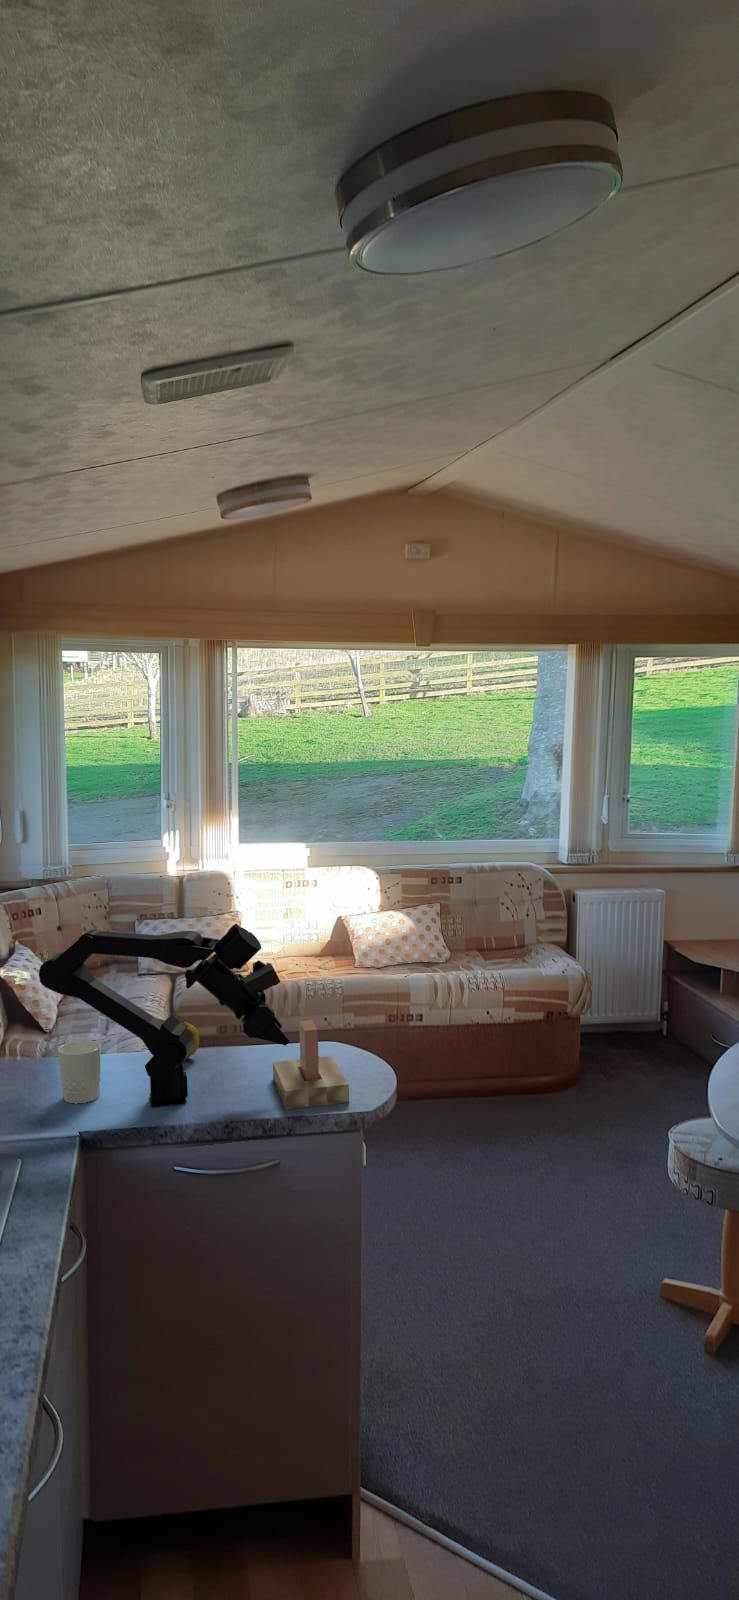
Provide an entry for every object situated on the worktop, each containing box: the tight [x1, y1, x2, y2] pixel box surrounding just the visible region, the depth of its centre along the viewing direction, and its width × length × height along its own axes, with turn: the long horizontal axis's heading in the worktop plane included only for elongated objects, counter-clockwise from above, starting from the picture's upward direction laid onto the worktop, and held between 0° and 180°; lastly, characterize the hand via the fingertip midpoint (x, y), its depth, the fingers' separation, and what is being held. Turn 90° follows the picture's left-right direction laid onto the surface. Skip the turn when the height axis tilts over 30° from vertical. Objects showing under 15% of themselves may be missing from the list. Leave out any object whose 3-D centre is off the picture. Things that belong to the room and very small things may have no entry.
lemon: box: [182, 1021, 200, 1060], centre depth 219 cm, size 6×6×8 cm
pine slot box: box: [272, 1055, 350, 1110], centre depth 200 cm, size 12×16×4 cm
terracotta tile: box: [298, 1019, 319, 1081], centre depth 200 cm, size 2×6×13 cm, turn 14°
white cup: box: [57, 1040, 102, 1104], centre depth 198 cm, size 8×8×10 cm
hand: (284, 1035), depth 198 cm, fingers open, 9 cm apart
